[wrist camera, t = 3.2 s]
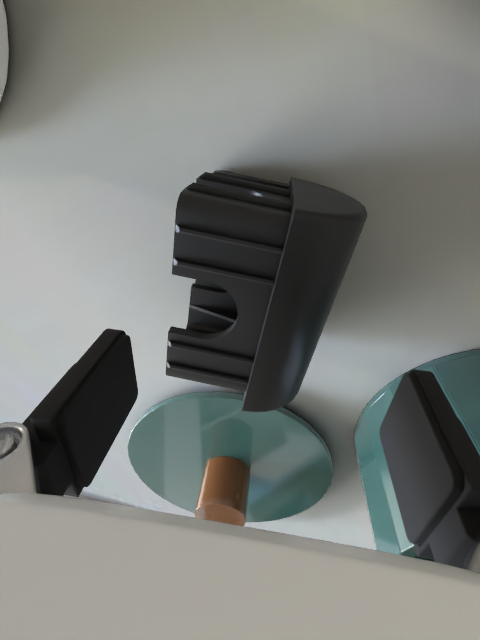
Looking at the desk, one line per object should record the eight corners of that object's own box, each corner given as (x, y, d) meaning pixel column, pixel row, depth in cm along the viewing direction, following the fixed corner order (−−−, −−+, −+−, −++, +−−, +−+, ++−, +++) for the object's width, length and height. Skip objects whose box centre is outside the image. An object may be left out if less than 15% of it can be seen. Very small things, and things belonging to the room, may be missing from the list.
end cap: (297, 343, 22) (302, 426, 16) (192, 321, 22) (161, 396, 16) (351, 186, 16) (388, 229, 11) (211, 157, 16) (172, 184, 11)
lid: (143, 496, 35) (123, 551, 31) (119, 372, 25) (85, 427, 21) (310, 521, 34) (314, 581, 30) (354, 402, 24) (369, 467, 20)
